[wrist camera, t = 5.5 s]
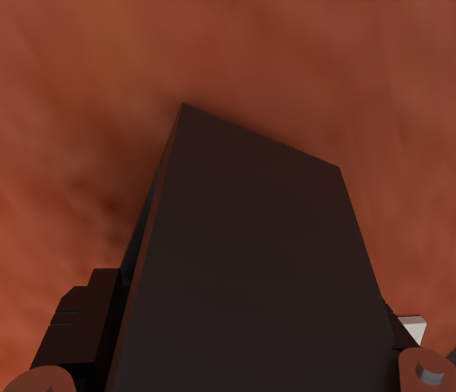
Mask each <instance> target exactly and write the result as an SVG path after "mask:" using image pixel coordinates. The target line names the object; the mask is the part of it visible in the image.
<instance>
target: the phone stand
mask: <svg viewBox="0 0 456 392" xmlns="http://www.w3.org/2000/svg"><path fill="white" fill-rule="evenodd" d="M120 269H121V274H122V289H123V304H124V315H123V319H122V323H121V327H120V331H119V335H118V339H117V343H116V347H115V351H114V354H113V357H112V360H111V364H110V367H109V370H108V373H107V376H106V379H105V382H104V385H103V389H102V392H396V365H397V361H398V358H399V355H400V351H398V350H394V349H391V347H392V345H393V343H394V342H395V340H396V339H395V336H394V333H393V330H392V327H391V324H390V321H389V318H388V315H387V312H386V309H385V306H384V303H383V299H382V296H381V293H380V290H379V287H378V284H377V281H376V278H375V275H374V272H373V269H372V266H371V263H370V260H369V257H368V254H367V251H366V247H365V244H364V241H363V238H362V235H361V232H360V229H359V226H358V223H357V220H356V217H355V214H354V211H353V208H352V205H351V202H350V199H349V195H348V192H347V189H346V186H345V183H344V180H343V177H342V174H341V171H340V168H339V167H338V166H335V165H333V164H330V163H328V162H326V161H323V160H321V159H318V158H316V157H313V156H311V155H309V154H306V153H304V152H301V151H299V150H296V149H294V148H292V147H289V146H287V145H284V144H282V143H279V142H277V141H274V140H272V139H270V138H267V137H265V136H262V135H260V134H257V133H255V132H253V131H250V130H248V129H245V128H243V127H240V126H238V125H235V124H233V123H231V122H228V121H226V120H223V119H221V118H218V117H216V116H214V115H211V114H209V113H206V112H204V111H201V110H199V109H197V108H194V107H192V106H189V105H187V104H184V103H182V105H181V107H180V110H179V112H178V115H177V118H176V120H175V123H174V126H173V128H172V131H171V134H170V136H169V139H168V142H167V144H166V147H165V149H164V152H163V155H162V157H161V160H160V163H159V165H158V168H157V171H156V173H155V176H154V178H153V181H152V184H151V186H150V189H149V192H148V194H147V197H146V200H145V202H144V205H143V208H142V210H141V213H140V216H139V219H138V221H137V223H136V226H135V229H134V231H133V234H132V237H131V239H130V242H129V244H128V247H127V250H126V252H125V255H124V258H123V260H122V263H121V266H120Z"/></svg>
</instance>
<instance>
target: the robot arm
mask: <svg viewBox="0 0 456 392" xmlns="http://www.w3.org/2000/svg"><path fill="white" fill-rule="evenodd" d="M382 299H383V298H382ZM383 303H384V306H385V309H386V312H387V315H388V318H389V321H390V324H391V327H392V330H393V333H394V336H395V339H396V340H395V342H394V343H393V345H392V347H391V349H394V350H398V351H400V355H399V358H398V361H397V365H396V392H456V366H455V365H454V364H453V363H452V362H450V361H449V360H448V359H446V358H445V357H443V356H442V355H440V354H438V353H436V352H434V351H431V350H428V349H424V348H421V347H420V346H419V345H418V343H417V342H416V341H415V339H414V338H413V337H412V336H411V334H410V333H409V332H408V330H407V329H406V328H405V326H404V325H403V324H402V323H401V321H400V320H399V319H398V317H397V316H396V315H395V314H393V311H392V310H391V308H390V307H389V306H388V304H385V300H384V299H383ZM123 315H124V304H123V289H122V274H121V269H120V268H103V269H94V270H93V272H92V275H91V278H90V280H89V283H88V286H74V287H73V288H72V289H71V290H70V291H69V292H68V293H67V294H66V295H64V296H63V297H62V298H61V300H60V303H59V305H58V307H57V309H56V311H55V314H54V316H53V318H52V320H51V322H50V326H49V327H48V329H47V331H46V334H45V336H44V338H43V340H42V342H41V345H40V347H39V349H38V351H37V353H36V356H35V358H34V360H33V362H32V365H31V367H30V369H29V370H28V371H26V372H24V373H22V374H21V375H19V376H18V377H16V378H15V379H14V380H12V381H11V382H10V383H9V384H8V385H7V386H6V388H5V389H4V391H3V392H102V389H103V385H104V382H105V379H106V376H107V373H108V370H109V367H110V364H111V360H112V357H113V354H114V351H115V347H116V343H117V339H118V335H119V331H120V327H121V323H122V319H123Z"/></svg>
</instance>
